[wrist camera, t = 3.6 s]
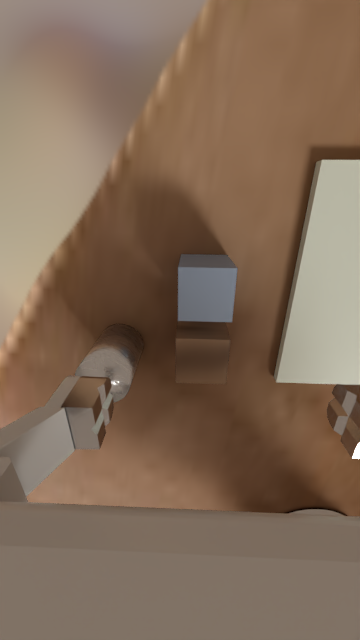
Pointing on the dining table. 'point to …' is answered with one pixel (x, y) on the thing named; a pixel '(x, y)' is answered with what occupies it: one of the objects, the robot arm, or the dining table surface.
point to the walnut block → (202, 352)
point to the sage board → (326, 284)
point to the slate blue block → (206, 288)
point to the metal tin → (114, 358)
